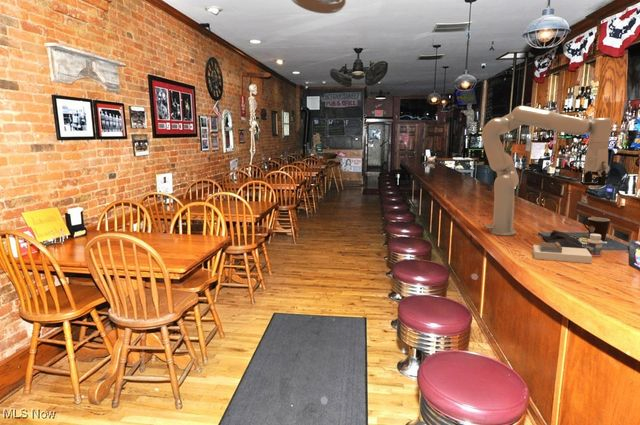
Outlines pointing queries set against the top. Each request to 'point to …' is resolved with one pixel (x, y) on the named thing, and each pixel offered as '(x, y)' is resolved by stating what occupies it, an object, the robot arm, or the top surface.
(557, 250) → the grey slab
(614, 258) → the top surface
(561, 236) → the black slab with knob
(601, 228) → the coffee mug
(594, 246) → the pill bottle
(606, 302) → the top surface
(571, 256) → the socket block
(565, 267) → the top surface
